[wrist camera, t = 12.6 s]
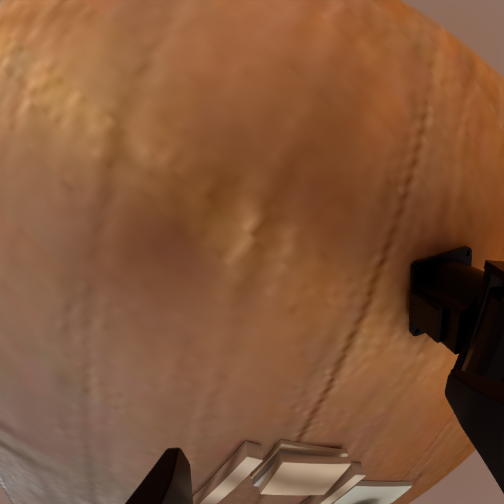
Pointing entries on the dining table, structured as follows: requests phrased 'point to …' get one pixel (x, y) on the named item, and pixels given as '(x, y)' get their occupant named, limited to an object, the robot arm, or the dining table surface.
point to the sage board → (374, 492)
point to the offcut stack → (299, 469)
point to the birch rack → (249, 460)
